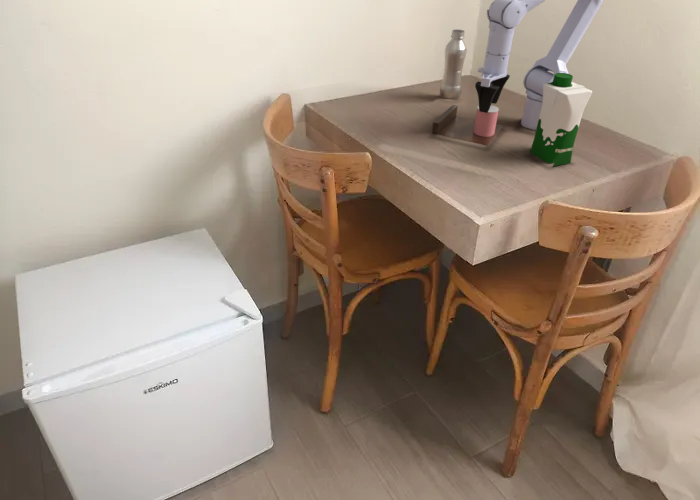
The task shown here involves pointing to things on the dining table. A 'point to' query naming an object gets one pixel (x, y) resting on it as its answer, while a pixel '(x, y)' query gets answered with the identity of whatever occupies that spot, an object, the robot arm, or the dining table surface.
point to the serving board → (460, 127)
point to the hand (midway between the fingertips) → (488, 107)
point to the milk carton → (559, 119)
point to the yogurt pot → (486, 122)
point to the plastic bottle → (453, 66)
